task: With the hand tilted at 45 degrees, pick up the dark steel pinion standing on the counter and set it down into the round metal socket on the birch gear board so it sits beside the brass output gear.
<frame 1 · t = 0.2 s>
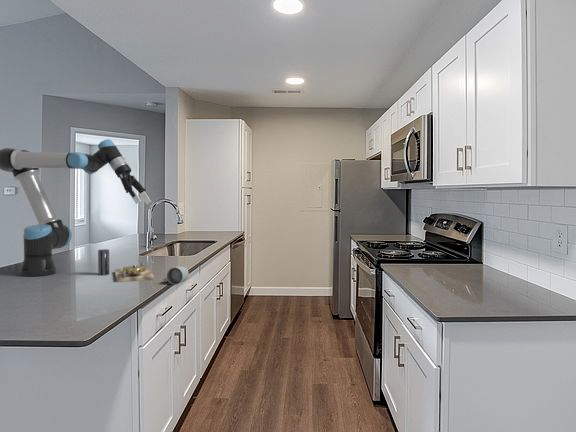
hand: (144, 202, 215), 35 cm above the counter, tool tilted 35°, fingers open, 13 cm apart
pinion: (103, 274, 208), on the counter
output gear: (134, 278, 199), resting on board
board: (133, 275, 205), on the counter
ceramic mug: (175, 283, 191), on the counter
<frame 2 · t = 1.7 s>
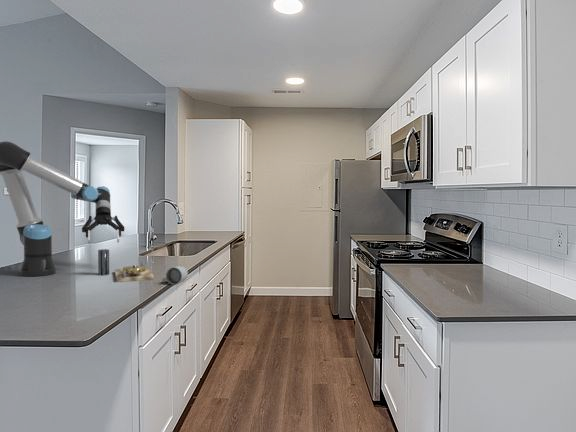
hand: (103, 241, 217), 15 cm above the counter, tool tilted 45°, fingers open, 13 cm apart
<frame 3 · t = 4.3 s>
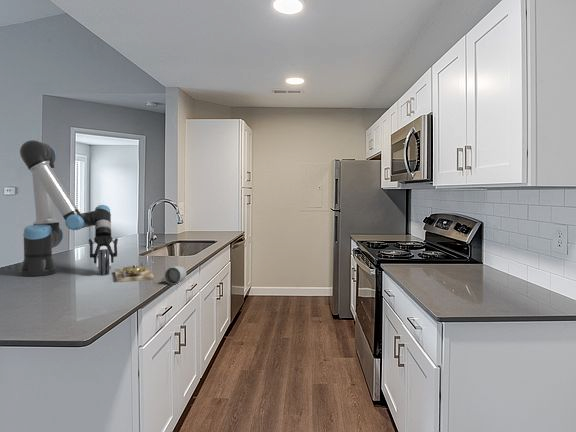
hand: (103, 267, 205), 4 cm above the counter, tool tilted 45°, fingers closed on pinion, 5 cm apart
pinion: (103, 274, 208), on the counter, touching gripper
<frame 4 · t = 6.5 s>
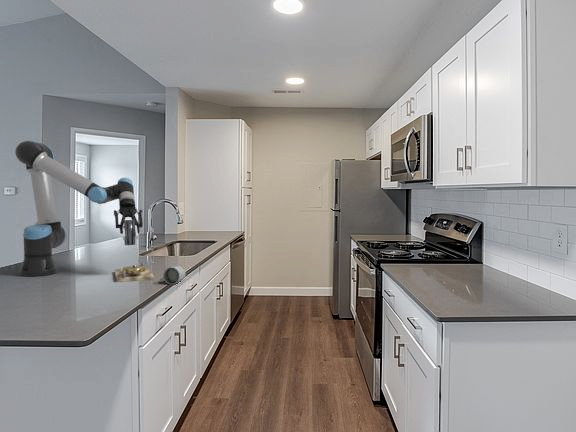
hand: (130, 237, 203), 18 cm above the counter, tool tilted 45°, fingers closed on pinion, 5 cm apart
pinion: (130, 244, 207), point 15 cm above the counter, touching gripper
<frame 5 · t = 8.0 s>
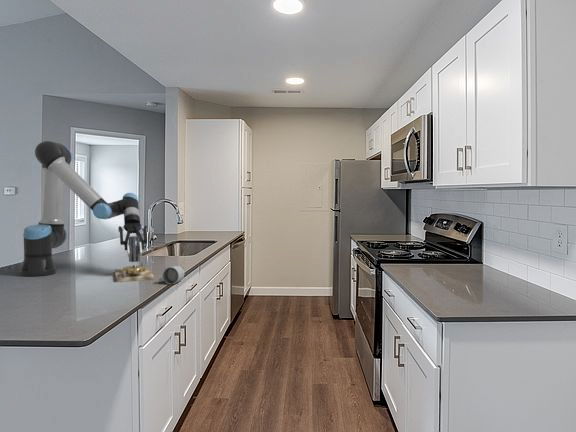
hand: (135, 254, 203), 10 cm above the counter, tool tilted 45°, fingers closed on pinion, 5 cm apart
pinion: (134, 261, 207), point 7 cm above the counter, touching gripper
when the fingers open (6 cm above the counter, at t = 9.0 s): pinion stays where it is, resting on board.
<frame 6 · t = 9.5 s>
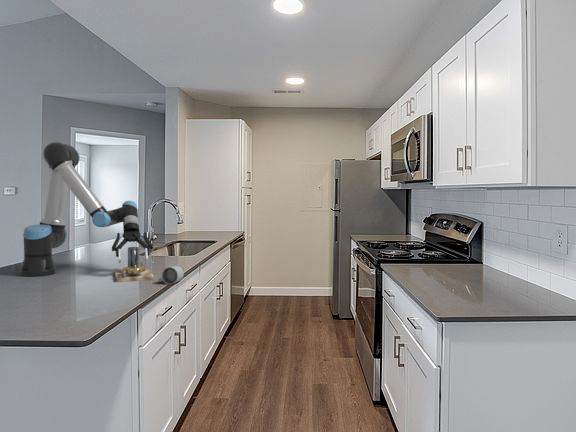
hand: (133, 260, 204), 7 cm above the counter, tool tilted 45°, fingers open, 11 cm apart
pinion: (133, 272, 207), point 2 cm above the counter, touching board
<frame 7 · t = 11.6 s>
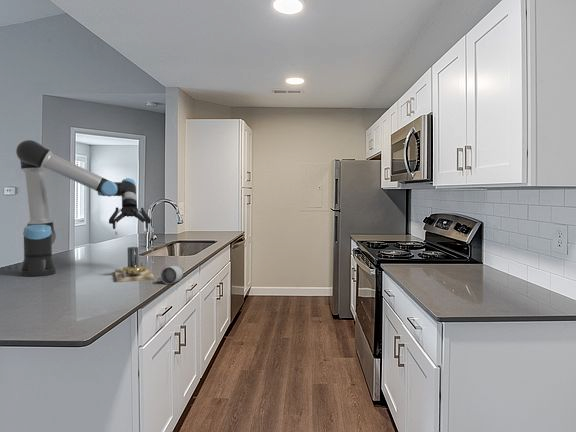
hand: (130, 233, 215), 20 cm above the counter, tool tilted 45°, fingers open, 13 cm apart
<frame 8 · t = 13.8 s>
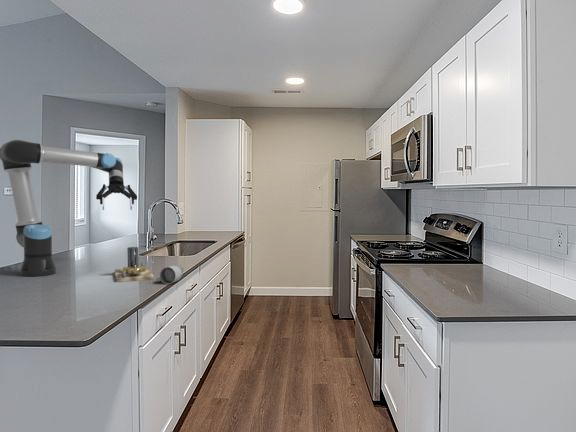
hand: (117, 208, 224), 32 cm above the counter, tool tilted 45°, fingers open, 13 cm apart
at the end: pinion 0.1 cm from the target spot on the board, point 1.5 cm above the board's base; pinion tilted 1°; the gripper is holding nothing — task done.
